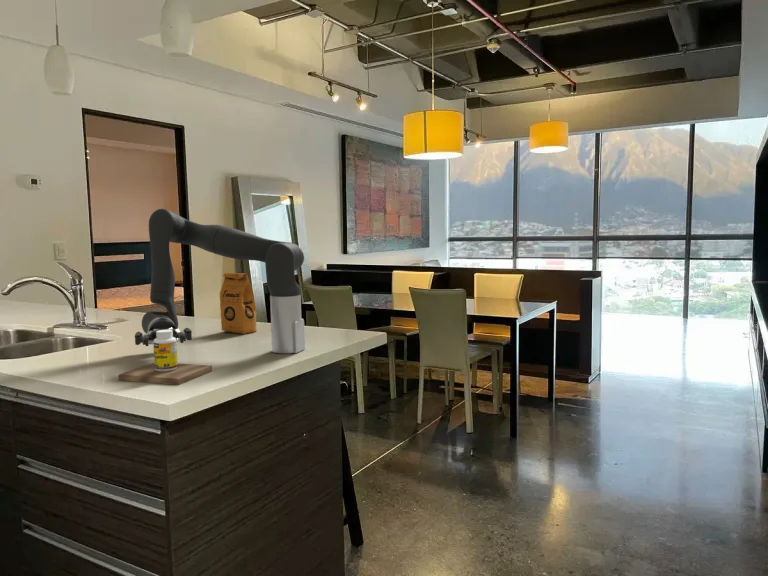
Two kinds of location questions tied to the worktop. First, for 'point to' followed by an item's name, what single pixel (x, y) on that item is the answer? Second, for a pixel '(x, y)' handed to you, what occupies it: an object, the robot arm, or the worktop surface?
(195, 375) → the walnut board
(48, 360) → the worktop surface
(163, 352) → the supplement bottle
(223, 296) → the coffee package
